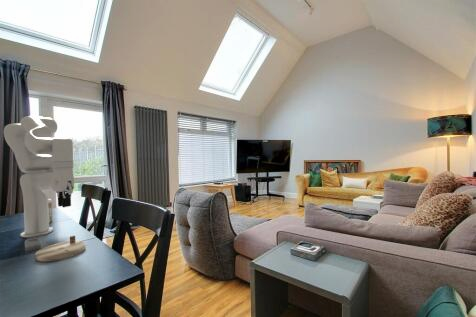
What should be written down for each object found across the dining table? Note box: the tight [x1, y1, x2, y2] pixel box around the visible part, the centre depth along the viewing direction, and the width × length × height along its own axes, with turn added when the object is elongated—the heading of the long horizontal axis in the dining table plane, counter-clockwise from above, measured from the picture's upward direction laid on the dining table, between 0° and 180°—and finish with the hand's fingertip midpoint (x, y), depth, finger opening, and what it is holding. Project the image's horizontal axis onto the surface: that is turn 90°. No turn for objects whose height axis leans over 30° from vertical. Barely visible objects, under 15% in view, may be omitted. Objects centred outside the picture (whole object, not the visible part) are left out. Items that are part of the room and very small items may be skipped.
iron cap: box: [24, 236, 42, 253], centre depth 97 cm, size 5×5×5 cm
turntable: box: [34, 235, 86, 262], centre depth 93 cm, size 16×16×4 cm
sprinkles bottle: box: [48, 198, 53, 222], centre depth 137 cm, size 5×5×13 cm
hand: (64, 205), depth 103 cm, fingers open, 3 cm apart
